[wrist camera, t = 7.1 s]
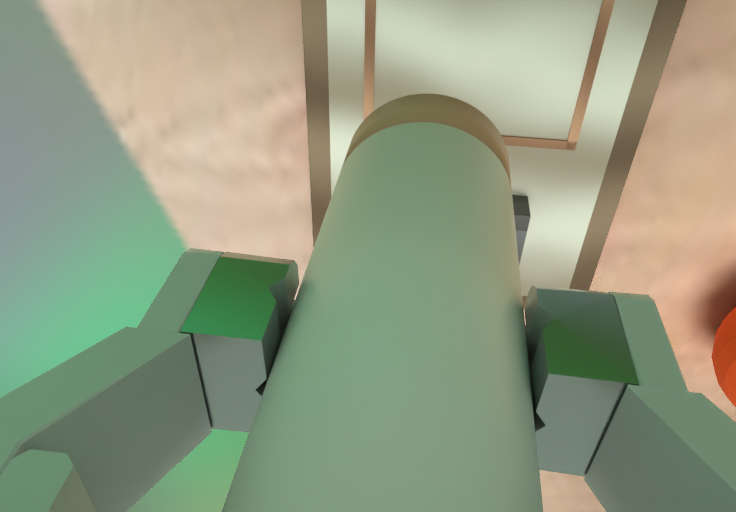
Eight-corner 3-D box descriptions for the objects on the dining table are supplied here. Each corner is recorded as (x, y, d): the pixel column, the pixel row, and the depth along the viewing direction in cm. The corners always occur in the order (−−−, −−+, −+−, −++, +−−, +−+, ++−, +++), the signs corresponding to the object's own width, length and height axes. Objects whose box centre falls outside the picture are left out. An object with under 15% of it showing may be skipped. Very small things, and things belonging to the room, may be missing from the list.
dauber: (341, 81, 11) (-187, 1241, 2) (529, 95, 11) (800, 1523, 2) (341, 231, 13) (75, 1129, 4) (499, 247, 13) (556, 1251, 4)
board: (299, -165, 20) (280, -159, 18) (725, -151, 19) (757, -143, 17) (319, 276, 33) (309, 310, 31) (577, 301, 32) (585, 338, 30)
